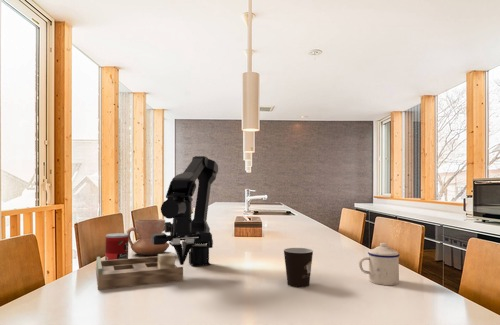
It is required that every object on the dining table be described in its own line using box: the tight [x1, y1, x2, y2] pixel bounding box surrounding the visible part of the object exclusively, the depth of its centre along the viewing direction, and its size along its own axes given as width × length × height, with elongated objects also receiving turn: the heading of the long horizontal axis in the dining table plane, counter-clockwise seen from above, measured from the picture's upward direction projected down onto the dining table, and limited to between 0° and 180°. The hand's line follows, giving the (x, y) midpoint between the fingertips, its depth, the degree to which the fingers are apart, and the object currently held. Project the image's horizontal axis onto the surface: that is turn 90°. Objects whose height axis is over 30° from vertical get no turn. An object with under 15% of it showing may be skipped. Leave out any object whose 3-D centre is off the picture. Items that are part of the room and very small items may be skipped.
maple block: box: [157, 252, 176, 269], centre depth 117 cm, size 4×4×4 cm
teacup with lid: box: [358, 242, 400, 286], centre depth 113 cm, size 12×9×12 cm
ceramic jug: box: [126, 218, 170, 256], centre depth 155 cm, size 18×14×14 cm
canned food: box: [104, 232, 129, 260], centre depth 133 cm, size 8×8×11 cm
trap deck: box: [95, 255, 184, 291], centre depth 117 cm, size 24×20×6 cm
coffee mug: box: [283, 247, 314, 288], centre depth 110 cm, size 12×9×10 cm
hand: (181, 264), depth 118 cm, fingers closed
